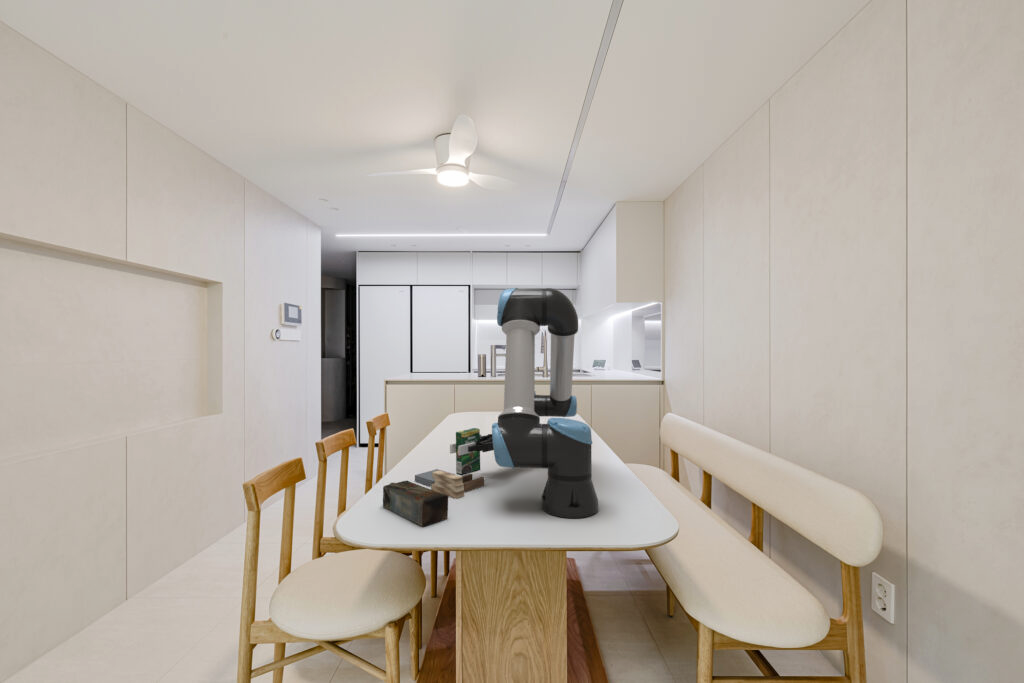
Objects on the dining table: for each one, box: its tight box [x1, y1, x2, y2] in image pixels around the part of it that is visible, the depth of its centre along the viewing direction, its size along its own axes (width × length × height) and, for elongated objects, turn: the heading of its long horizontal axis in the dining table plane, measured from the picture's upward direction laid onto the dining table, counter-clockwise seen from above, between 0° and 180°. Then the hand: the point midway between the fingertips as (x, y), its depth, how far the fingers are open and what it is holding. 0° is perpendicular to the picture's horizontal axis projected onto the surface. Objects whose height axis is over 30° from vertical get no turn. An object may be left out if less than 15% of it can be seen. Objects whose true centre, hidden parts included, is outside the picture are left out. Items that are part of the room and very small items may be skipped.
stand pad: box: [414, 468, 456, 487], centre depth 138 cm, size 9×9×2 cm
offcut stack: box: [430, 469, 465, 499], centre depth 127 cm, size 11×3×5 cm, turn 49°
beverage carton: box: [382, 480, 449, 527], centre depth 112 cm, size 8×19×7 cm, turn 46°
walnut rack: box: [460, 473, 485, 493], centre depth 133 cm, size 6×8×2 cm
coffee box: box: [455, 427, 481, 477], centre depth 133 cm, size 8×3×13 cm, turn 138°
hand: (455, 449), depth 129 cm, fingers closed on coffee box, 3 cm apart
